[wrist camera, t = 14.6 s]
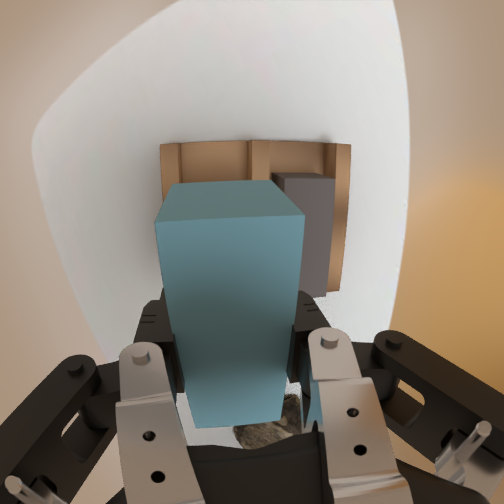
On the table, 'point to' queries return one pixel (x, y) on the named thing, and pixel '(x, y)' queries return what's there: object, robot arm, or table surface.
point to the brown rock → (272, 427)
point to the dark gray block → (312, 225)
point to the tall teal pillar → (231, 294)
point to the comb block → (265, 173)
